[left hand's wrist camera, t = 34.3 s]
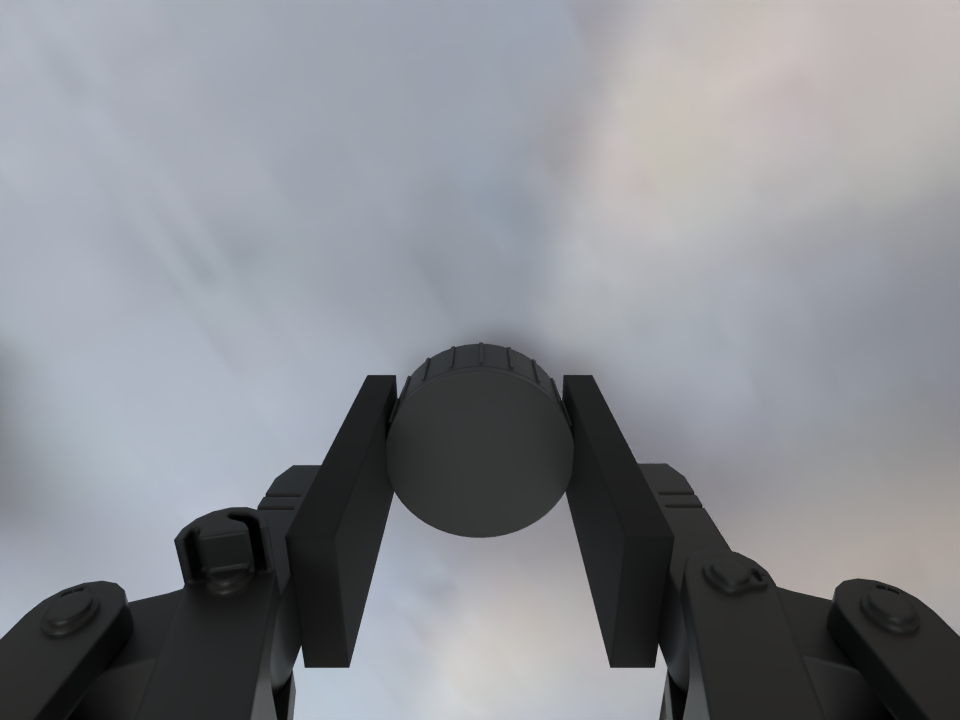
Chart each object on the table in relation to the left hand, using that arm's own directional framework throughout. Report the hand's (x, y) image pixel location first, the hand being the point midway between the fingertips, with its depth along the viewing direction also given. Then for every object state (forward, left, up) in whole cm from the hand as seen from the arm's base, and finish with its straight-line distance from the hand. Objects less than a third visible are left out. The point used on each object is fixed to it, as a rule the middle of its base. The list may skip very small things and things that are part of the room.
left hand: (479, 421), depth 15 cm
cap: (0, 0, +2) cm, 2 cm away
